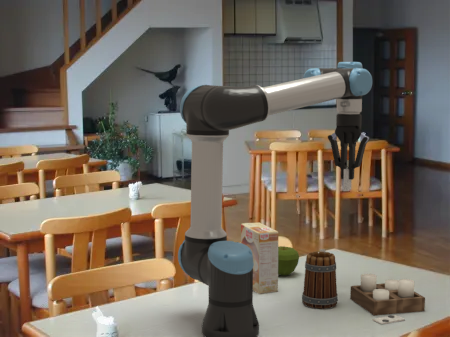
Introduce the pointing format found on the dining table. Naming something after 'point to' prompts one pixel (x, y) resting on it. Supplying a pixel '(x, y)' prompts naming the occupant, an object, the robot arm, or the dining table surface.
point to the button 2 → (380, 294)
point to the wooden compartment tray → (387, 301)
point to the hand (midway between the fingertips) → (347, 189)
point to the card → (388, 319)
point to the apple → (287, 260)
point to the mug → (320, 280)
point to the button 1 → (368, 282)
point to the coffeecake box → (262, 255)
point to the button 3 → (391, 284)
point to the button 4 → (405, 288)
